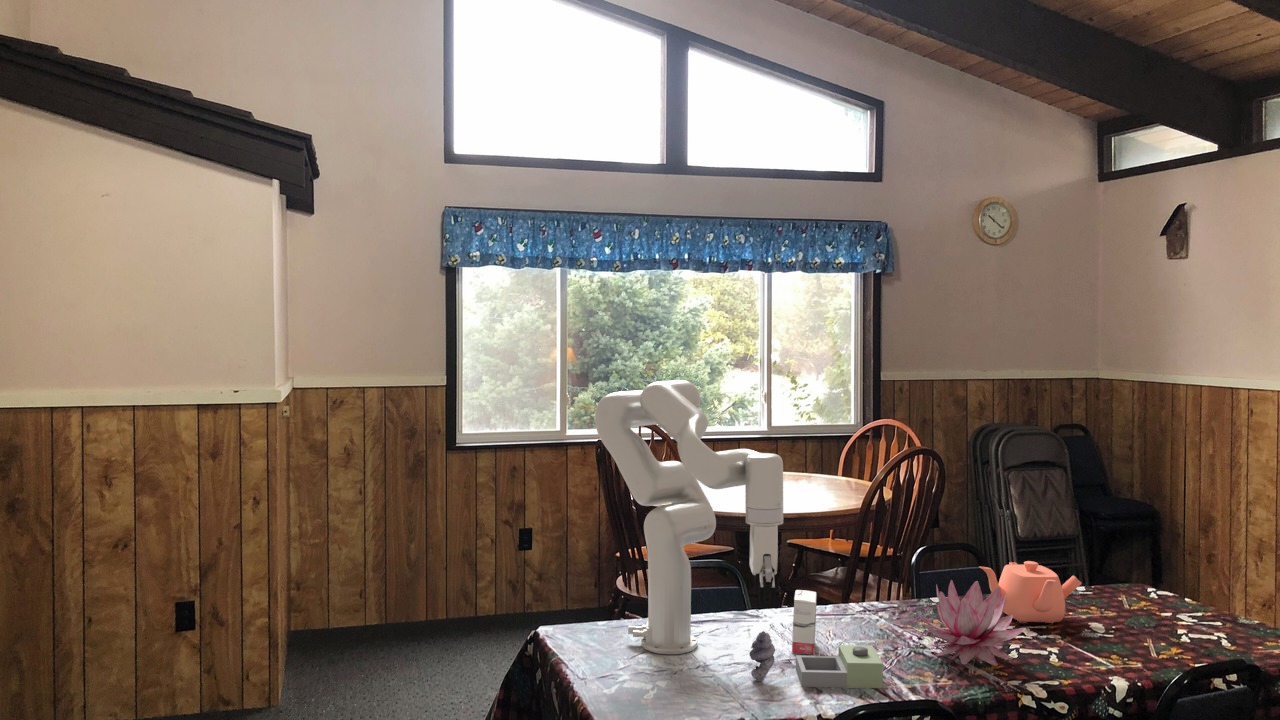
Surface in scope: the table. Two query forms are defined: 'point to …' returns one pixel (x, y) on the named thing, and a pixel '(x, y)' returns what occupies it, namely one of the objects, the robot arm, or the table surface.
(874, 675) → the green and grey box
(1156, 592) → the table surface
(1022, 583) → the teapot
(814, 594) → the ink box
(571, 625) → the table surface
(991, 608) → the decorative flower
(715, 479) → the robot arm
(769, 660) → the seashell
